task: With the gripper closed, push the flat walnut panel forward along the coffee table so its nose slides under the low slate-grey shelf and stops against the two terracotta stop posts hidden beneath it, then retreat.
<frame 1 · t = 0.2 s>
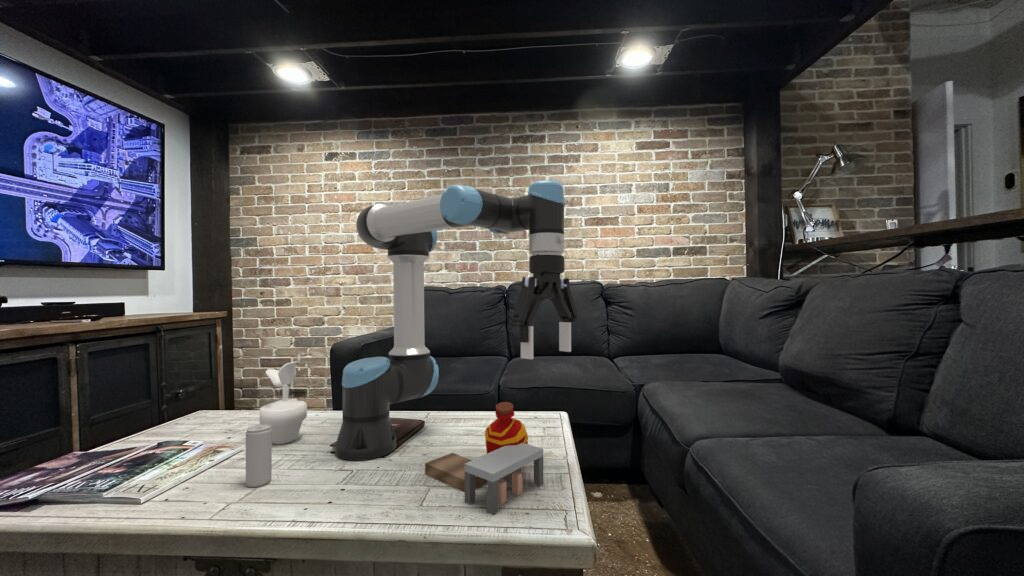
hand: (547, 354, 88), 28 cm above the table, fingers open, 13 cm apart
beverage can: (258, 484, 90), on the table
shelf: (505, 492, 85), on the table
potted plant: (282, 441, 116), on the table
panel: (459, 479, 92), on the table
potion bottle: (508, 464, 97), point 1 cm above the table, touching shelf
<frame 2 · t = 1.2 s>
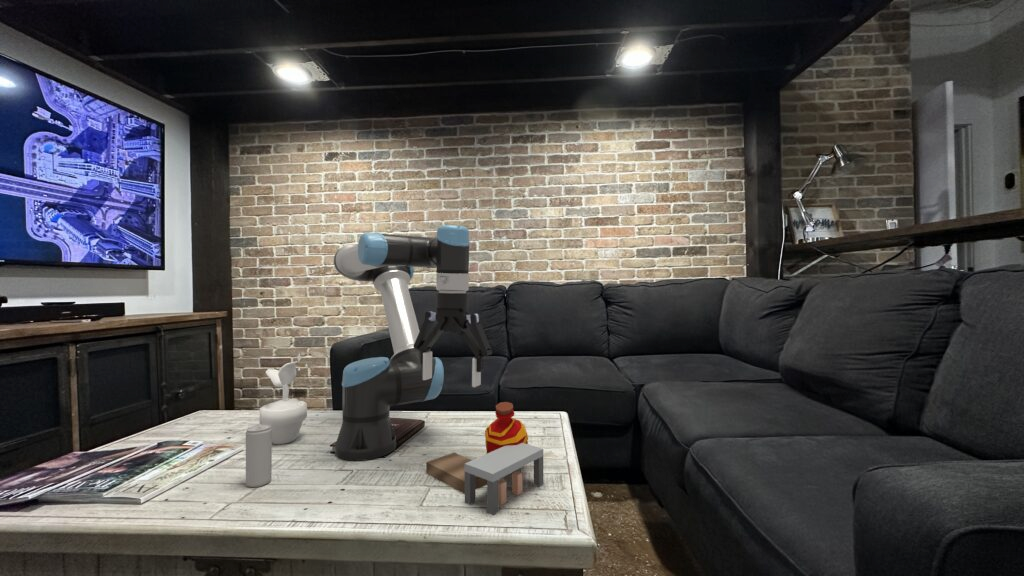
hand: (451, 382, 98), 20 cm above the table, fingers open, 13 cm apart
nothing on the table moved.
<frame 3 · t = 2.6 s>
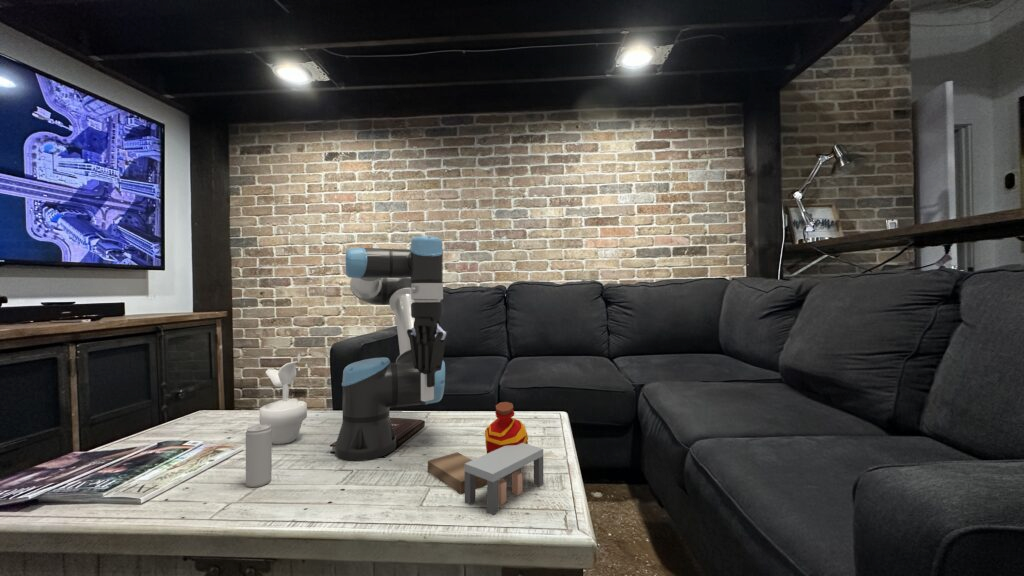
hand: (427, 399, 99), 15 cm above the table, fingers closed
nothing on the table moved.
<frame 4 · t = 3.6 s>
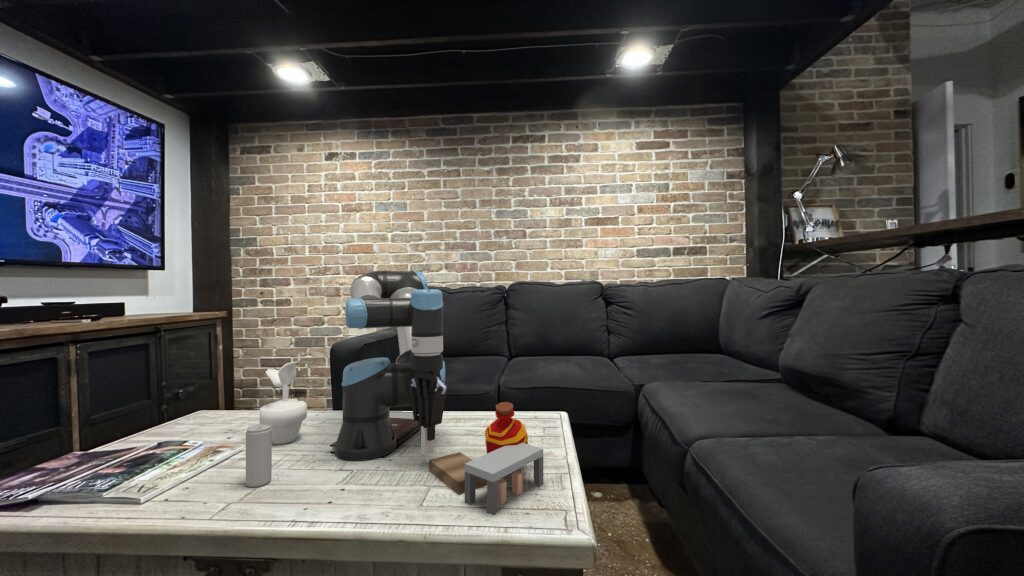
hand: (427, 452, 99), 3 cm above the table, fingers closed
nothing on the table moved.
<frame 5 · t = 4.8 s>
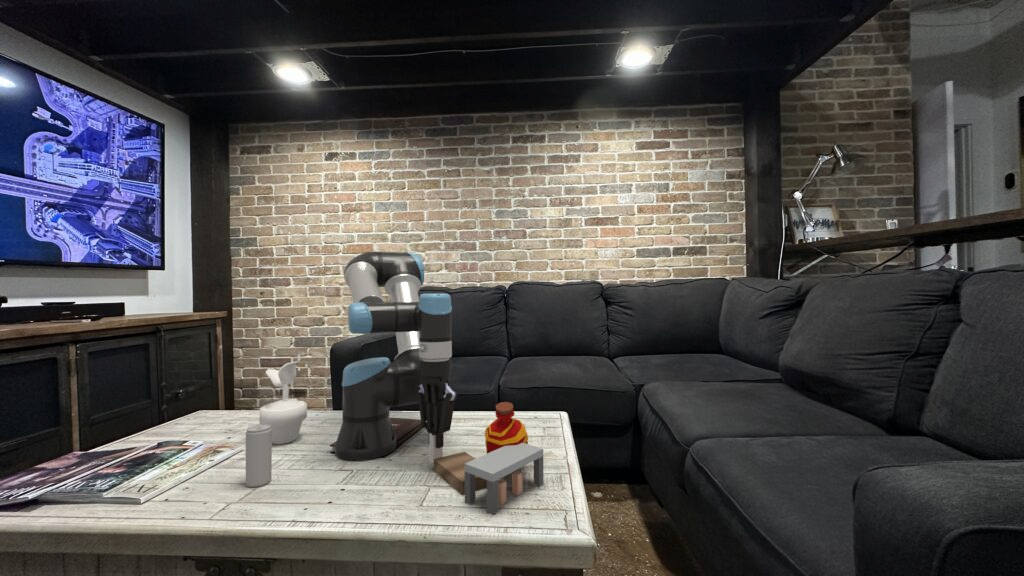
hand: (436, 460, 97), 2 cm above the table, fingers closed
panel: (463, 478, 92), on the table, touching gripper
everything else where it was.
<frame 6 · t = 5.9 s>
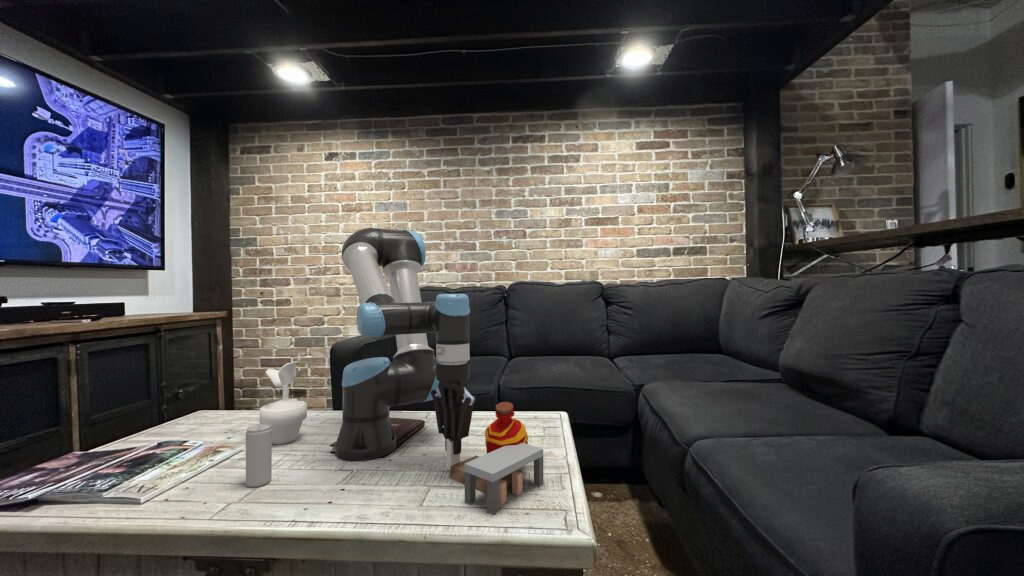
hand: (453, 467, 93), 2 cm above the table, fingers closed
panel: (485, 482, 90), on the table, touching gripper
everything else where it was.
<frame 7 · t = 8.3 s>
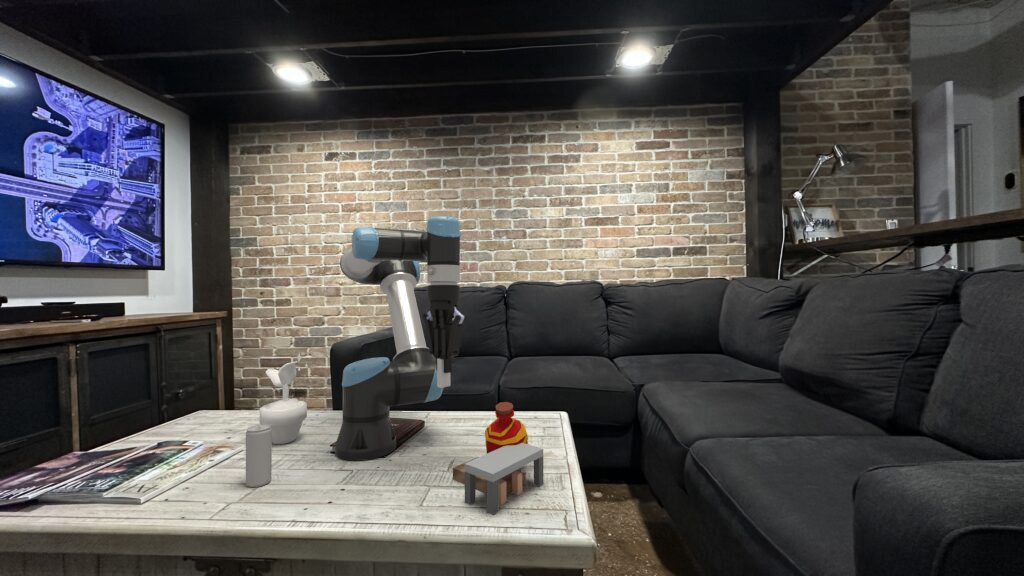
hand: (443, 386, 96), 19 cm above the table, fingers closed
panel: (488, 484, 90), on the table
everything else where it was.
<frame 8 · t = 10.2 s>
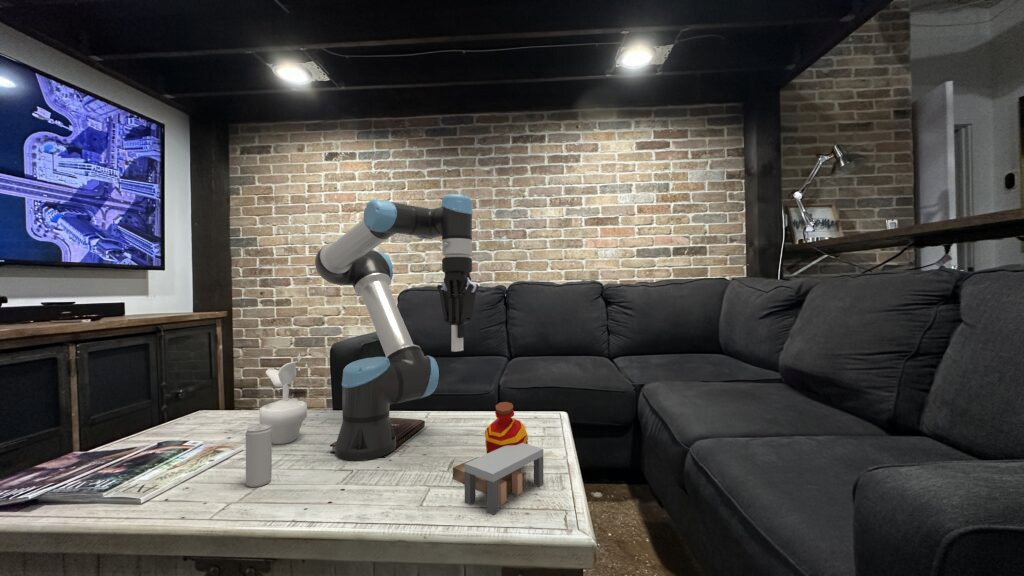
hand: (457, 350, 104), 26 cm above the table, fingers closed
nothing on the table moved.
at the end: panel 2.3 cm from the target spot, on the table; panel tilted 0° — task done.
